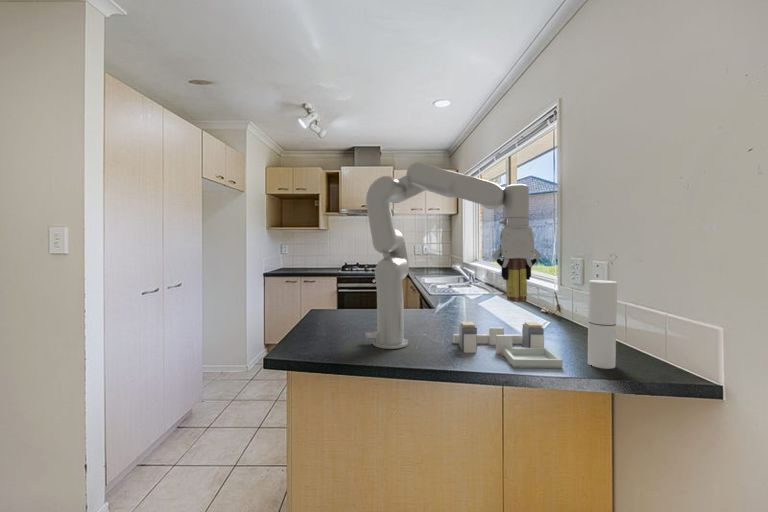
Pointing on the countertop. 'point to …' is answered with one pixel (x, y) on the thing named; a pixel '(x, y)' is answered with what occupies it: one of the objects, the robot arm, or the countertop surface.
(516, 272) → the sauce bottle
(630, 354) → the countertop surface
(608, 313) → the cylindrical container
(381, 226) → the robot arm
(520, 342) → the clip rack
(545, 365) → the tray
